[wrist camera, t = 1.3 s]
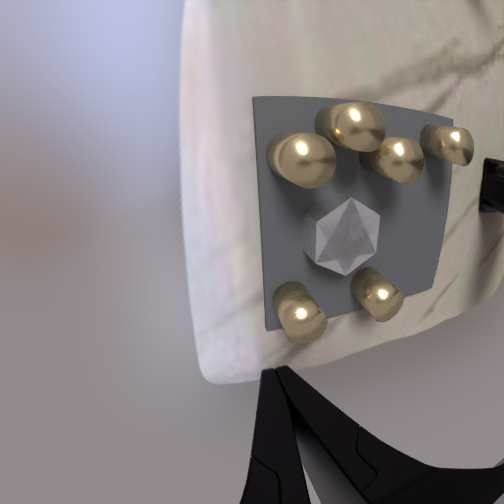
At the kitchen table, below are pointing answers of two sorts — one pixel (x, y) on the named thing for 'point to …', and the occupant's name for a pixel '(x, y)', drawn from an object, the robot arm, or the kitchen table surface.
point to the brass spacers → (372, 160)
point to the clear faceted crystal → (340, 232)
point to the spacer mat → (359, 188)
